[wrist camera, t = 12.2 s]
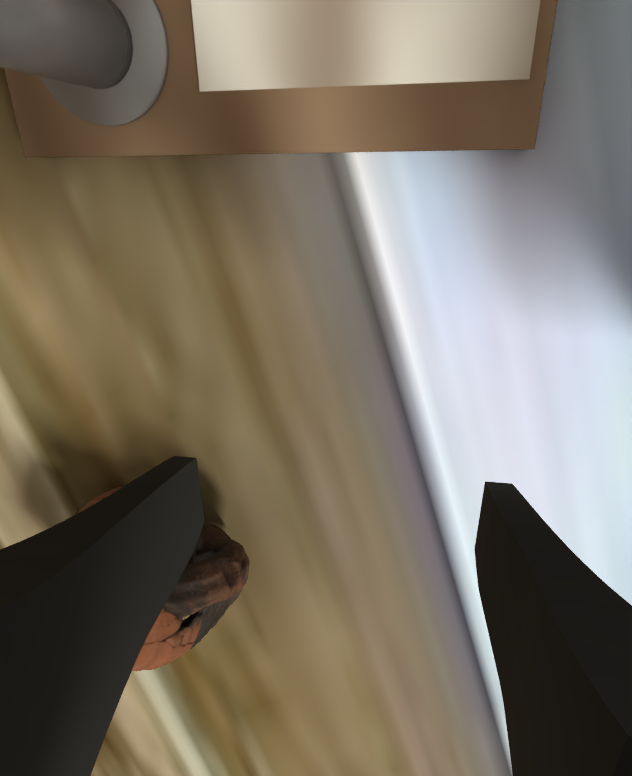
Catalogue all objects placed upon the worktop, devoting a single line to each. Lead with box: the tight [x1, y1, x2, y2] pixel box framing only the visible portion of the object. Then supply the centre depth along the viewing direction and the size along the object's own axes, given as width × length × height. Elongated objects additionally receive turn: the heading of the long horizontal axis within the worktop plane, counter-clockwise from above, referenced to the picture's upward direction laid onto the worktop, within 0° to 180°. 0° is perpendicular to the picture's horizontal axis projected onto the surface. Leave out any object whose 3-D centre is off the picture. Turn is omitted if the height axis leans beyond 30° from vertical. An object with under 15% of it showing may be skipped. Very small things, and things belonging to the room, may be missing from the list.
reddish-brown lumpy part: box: [75, 486, 249, 671], centre depth 26 cm, size 12×10×8 cm
